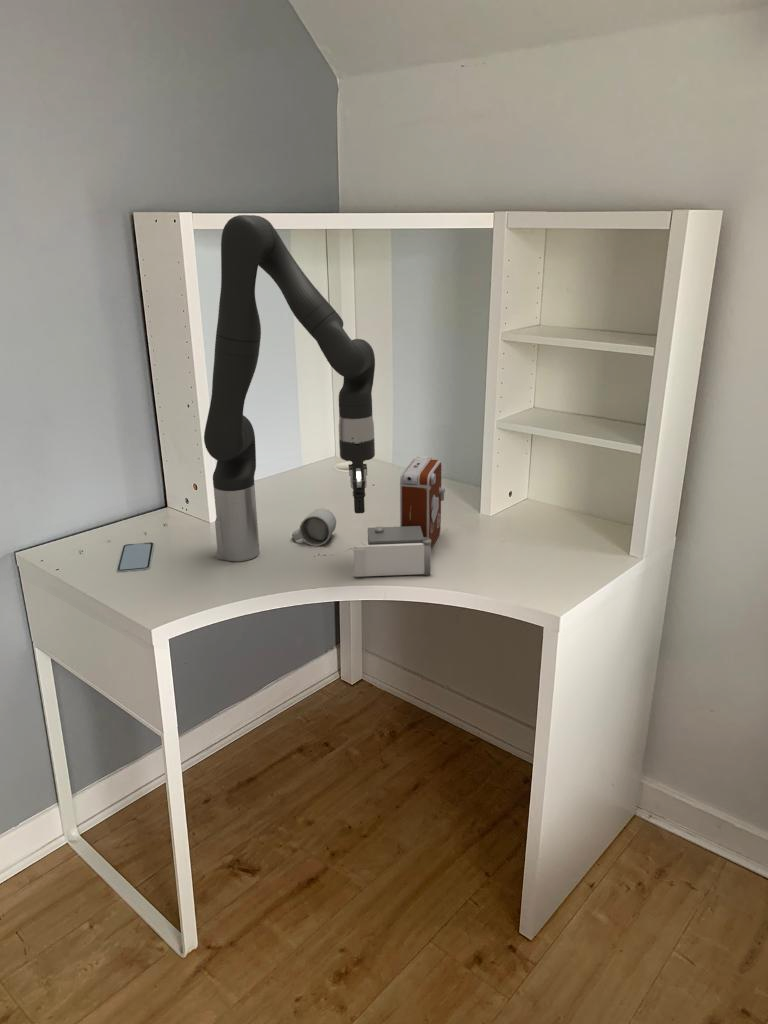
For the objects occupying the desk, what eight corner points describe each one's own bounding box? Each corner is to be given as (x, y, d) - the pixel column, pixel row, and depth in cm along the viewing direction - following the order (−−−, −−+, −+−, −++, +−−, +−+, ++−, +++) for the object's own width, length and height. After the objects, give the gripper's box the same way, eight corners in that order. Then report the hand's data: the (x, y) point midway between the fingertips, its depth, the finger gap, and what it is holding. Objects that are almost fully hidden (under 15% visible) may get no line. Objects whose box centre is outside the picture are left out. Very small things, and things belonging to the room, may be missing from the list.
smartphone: (115, 571, 177) (123, 544, 191) (116, 575, 178) (123, 548, 191) (149, 568, 179) (154, 541, 192) (150, 572, 179) (155, 545, 193)
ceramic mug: (338, 534, 197) (336, 505, 195) (330, 547, 190) (329, 517, 187) (297, 532, 199) (295, 503, 196) (288, 545, 192) (285, 515, 189)
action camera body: (370, 578, 173) (369, 541, 170) (368, 559, 182) (367, 524, 179) (432, 576, 174) (432, 539, 171) (427, 557, 183) (427, 522, 180)
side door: (354, 577, 173) (353, 547, 170) (354, 574, 174) (353, 544, 172) (430, 574, 174) (431, 544, 171) (429, 571, 175) (430, 541, 173)
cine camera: (449, 526, 201) (451, 450, 194) (433, 557, 184) (434, 475, 176) (414, 523, 203) (414, 448, 196) (395, 553, 186) (394, 472, 179)
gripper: (338, 428, 174) (342, 502, 180) (339, 445, 162) (343, 524, 168) (372, 427, 175) (374, 501, 181) (376, 443, 162) (378, 522, 168)
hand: (359, 512), depth 174 cm, fingers closed
